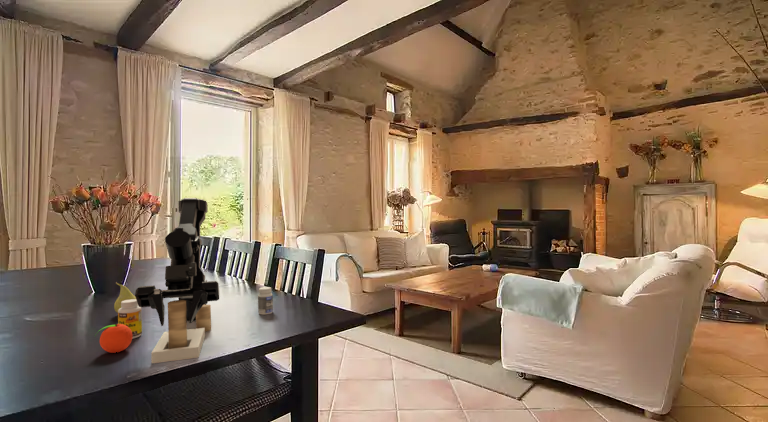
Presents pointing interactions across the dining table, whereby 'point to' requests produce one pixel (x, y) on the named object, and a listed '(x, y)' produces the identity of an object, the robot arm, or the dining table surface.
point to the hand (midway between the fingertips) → (176, 323)
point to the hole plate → (191, 351)
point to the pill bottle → (265, 301)
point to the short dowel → (204, 318)
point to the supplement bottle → (131, 316)
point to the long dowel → (177, 324)
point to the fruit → (123, 297)
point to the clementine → (115, 338)
